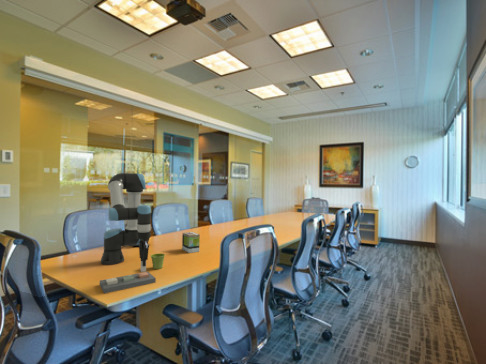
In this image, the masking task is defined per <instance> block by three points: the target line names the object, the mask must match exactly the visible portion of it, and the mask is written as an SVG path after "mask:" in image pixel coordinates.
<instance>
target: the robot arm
mask: <svg viewBox="0 0 486 364" xmlns="http://www.w3.org/2000/svg"><path fill="white" fill-rule="evenodd" d="M145 178H146V177H145V175H144V174H143V173H138V172H135V173H134V172H133V173H132V172H131V173H130V172H129V173H128V172H127V173H125V172H120V173H116V174H115V175H113V176H112V177H111V178H110V179H109V181H108V184H107V189H108V190H109V194H110V205H111V208H108V221H110V222H111V221H112V222H113V221H114V222H117V221H118V222H119V221H127V225H126V226H125V227H124V229H123V230H122V228H119V227H118V228H112V229H108V230H106V231H105V232H104V233H103V253H102V256H101V259H100V264H101V265H108V266H109V265H117V264H121V263H123V262H124V261H125V257H124V254H123V251H122V247H129V246H133V245H139V246H138V251H139V252H138V254H139V259H140V273H143V272H147V261H148V258H149V248H150V244H149V241H147V239H148V238H149V239H150V238H151V234H152V233H151V230H152V229H151V227H152V224H151V221H152V219H151V218H152V209H151V208H152V207H151V205H149V204H141V198H142V197H141V195H142V194H143V193H144V190H146V179H145ZM123 190H125V192H126V193H127V207H126V205H125V199H124V198H125V197H124V192H123Z"/></svg>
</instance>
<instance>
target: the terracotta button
mask: <svg viewBox="0 0 486 364" xmlns="http://www.w3.org/2000/svg"><path fill="white" fill-rule="evenodd" d="M147 272H148V271H144V272H138V273H137V274H138V278H139V279H141V278H147V277H149V274H148V273H147Z"/></svg>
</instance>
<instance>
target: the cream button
mask: <svg viewBox="0 0 486 364" xmlns="http://www.w3.org/2000/svg"><path fill="white" fill-rule="evenodd" d="M116 283H118V280H117V278H116V277H112V278H106V284H107V285H111V284H116Z"/></svg>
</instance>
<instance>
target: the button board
mask: <svg viewBox="0 0 486 364" xmlns="http://www.w3.org/2000/svg"><path fill="white" fill-rule="evenodd" d="M146 272H147V273H148V274H149V277H147V278H141V279H139V278H138V273H133V274H131V275H132V276H133V277H134V280H131V281H126V282H124V281H123V280H122V276H117V277H115V278H117V280H118V283H116V284H111V285H107V284H106V279H107V278H106V279H101V280H99V287H100V288H101V290H102V292H103V294H108V293H113V292H117V291H122V290H126V289H133V288H136V287H140V286H146V285H151V284H155V283H156V281H157V280H156V279H157V278H156V277H155V276H154V275H152V274H151V273H150V272H149V271H146Z"/></svg>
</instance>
